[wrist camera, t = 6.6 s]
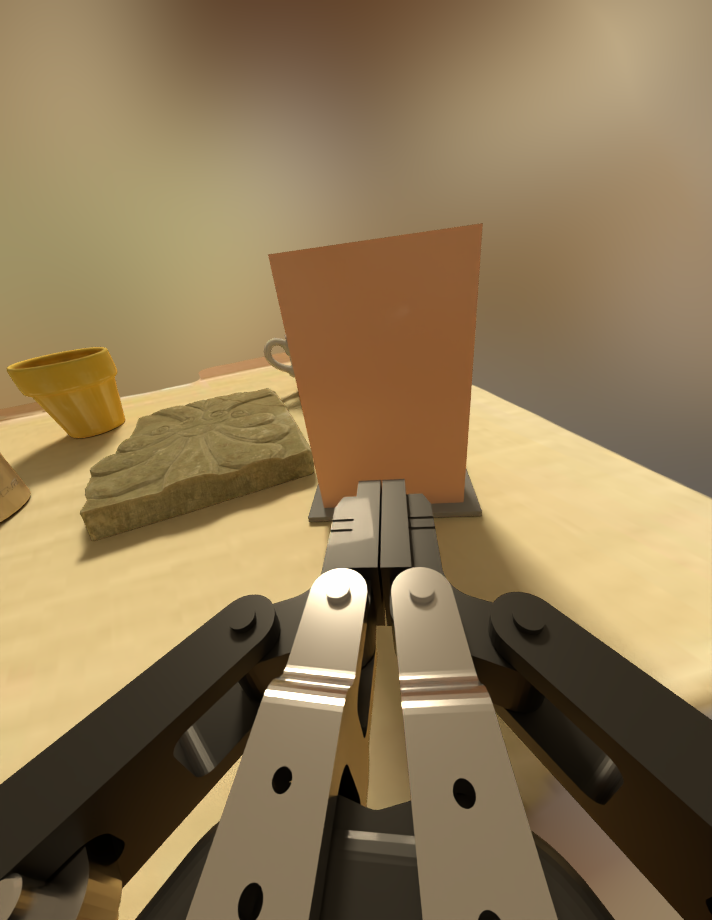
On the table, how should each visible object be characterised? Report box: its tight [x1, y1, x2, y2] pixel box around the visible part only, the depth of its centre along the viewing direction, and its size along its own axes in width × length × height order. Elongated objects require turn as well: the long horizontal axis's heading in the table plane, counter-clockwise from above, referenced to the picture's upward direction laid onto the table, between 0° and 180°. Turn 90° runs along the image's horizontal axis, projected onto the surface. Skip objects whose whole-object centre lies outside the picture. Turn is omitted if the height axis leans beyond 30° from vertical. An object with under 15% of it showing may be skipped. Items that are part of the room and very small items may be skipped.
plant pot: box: [7, 347, 125, 438], centre depth 43 cm, size 10×10×10 cm
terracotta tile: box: [268, 223, 483, 508], centre depth 21 cm, size 10×3×16 cm, turn 85°
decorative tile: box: [80, 388, 314, 541], centre depth 34 cm, size 19×20×4 cm
